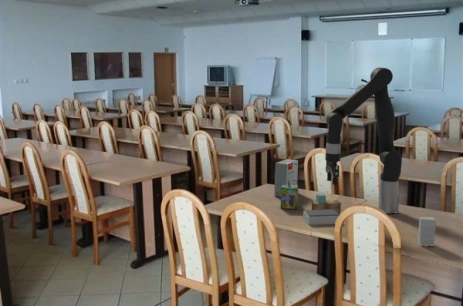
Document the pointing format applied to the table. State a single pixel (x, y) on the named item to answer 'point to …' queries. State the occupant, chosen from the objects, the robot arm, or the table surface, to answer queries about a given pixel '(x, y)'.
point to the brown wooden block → (327, 205)
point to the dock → (320, 216)
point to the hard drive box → (285, 174)
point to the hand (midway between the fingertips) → (331, 182)
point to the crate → (320, 198)
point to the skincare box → (426, 230)
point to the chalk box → (289, 196)
